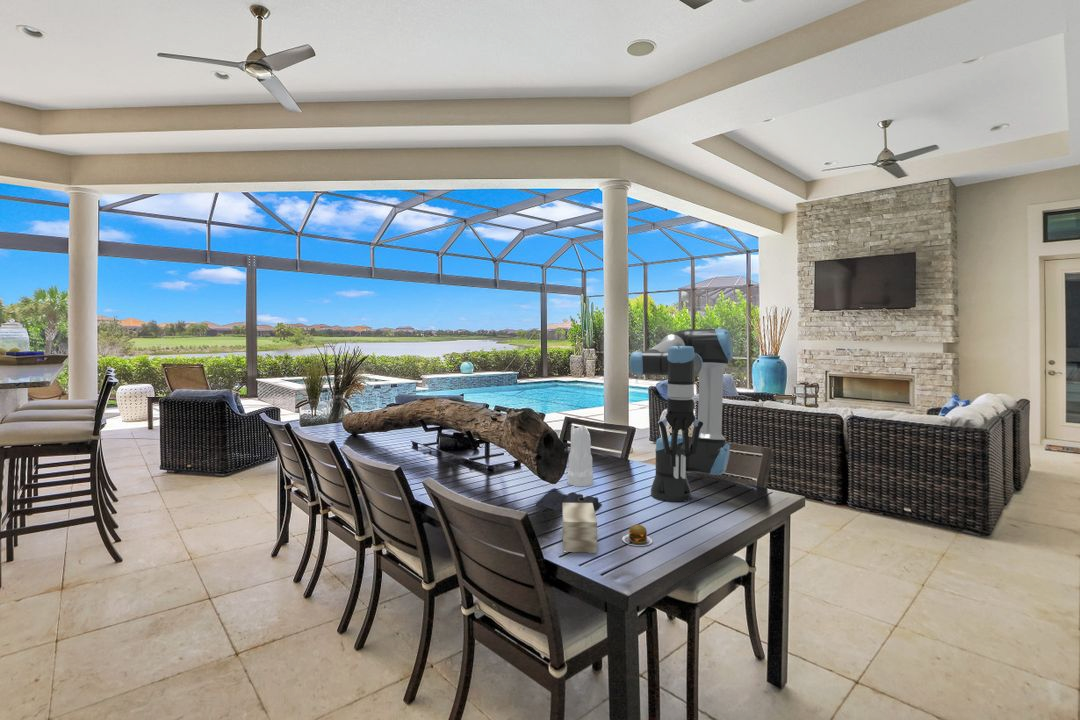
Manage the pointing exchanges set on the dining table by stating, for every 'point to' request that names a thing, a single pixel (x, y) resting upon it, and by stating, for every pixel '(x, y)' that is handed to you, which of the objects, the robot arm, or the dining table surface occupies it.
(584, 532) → the beige paper bag
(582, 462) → the decorative vase
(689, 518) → the dining table surface
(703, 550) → the dining table surface
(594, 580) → the dining table surface
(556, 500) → the dark slate chunk
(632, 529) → the hamburger
